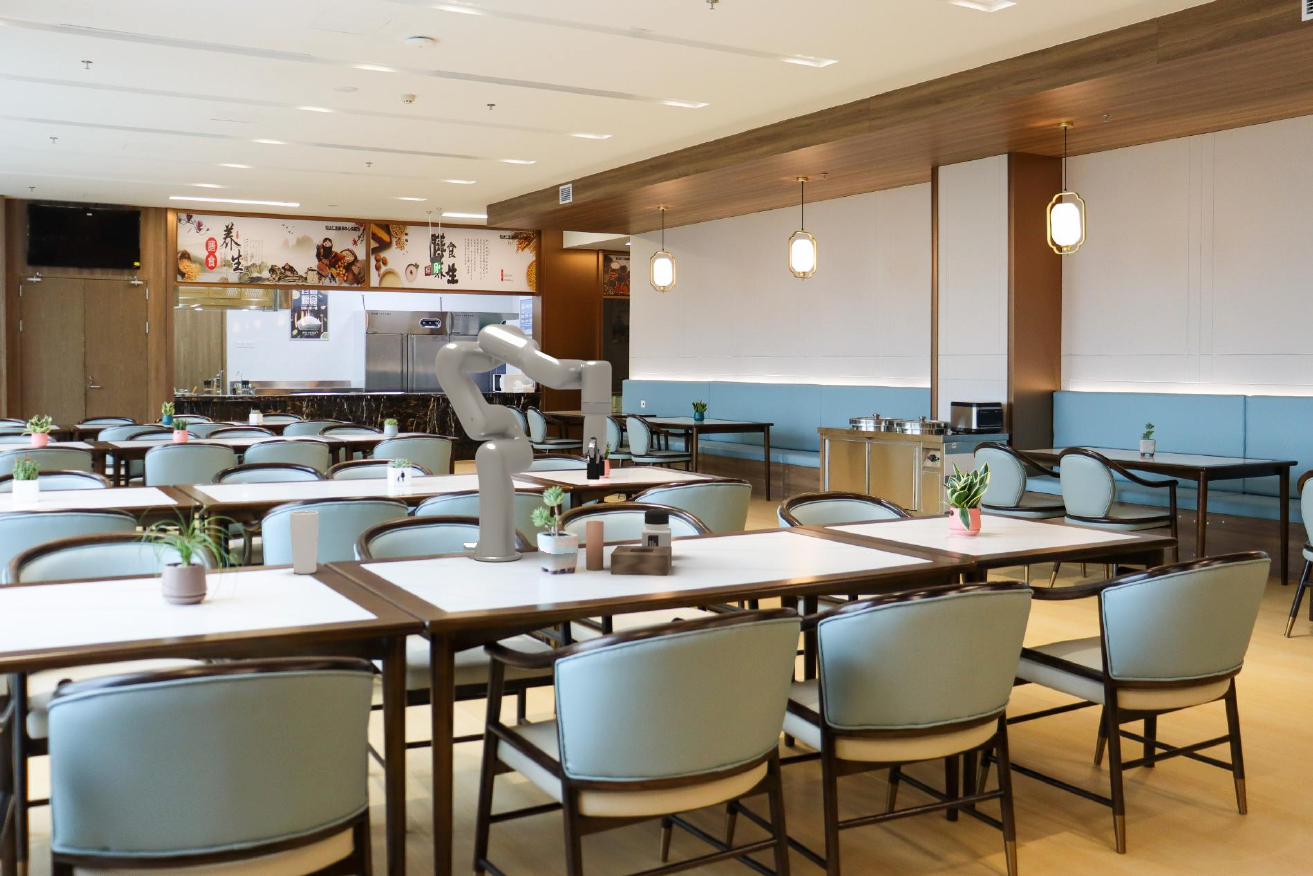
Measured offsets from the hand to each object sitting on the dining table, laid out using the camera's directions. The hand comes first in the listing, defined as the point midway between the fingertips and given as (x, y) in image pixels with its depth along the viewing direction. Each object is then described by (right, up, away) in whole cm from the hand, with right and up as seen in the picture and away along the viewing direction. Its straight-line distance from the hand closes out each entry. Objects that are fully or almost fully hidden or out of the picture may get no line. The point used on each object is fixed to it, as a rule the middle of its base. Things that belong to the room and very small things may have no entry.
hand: (595, 477), depth 292 cm
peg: (0, -23, +1) cm, 23 cm away
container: (+15, -22, +19) cm, 33 cm away
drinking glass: (-71, -23, -7) cm, 75 cm away
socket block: (+12, -23, 0) cm, 26 cm away
